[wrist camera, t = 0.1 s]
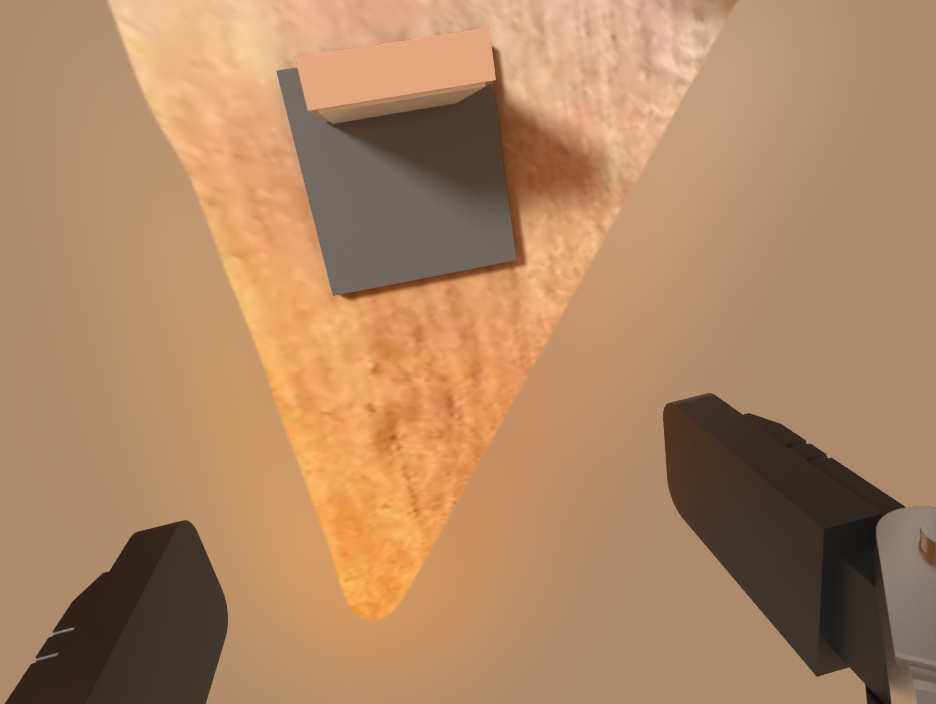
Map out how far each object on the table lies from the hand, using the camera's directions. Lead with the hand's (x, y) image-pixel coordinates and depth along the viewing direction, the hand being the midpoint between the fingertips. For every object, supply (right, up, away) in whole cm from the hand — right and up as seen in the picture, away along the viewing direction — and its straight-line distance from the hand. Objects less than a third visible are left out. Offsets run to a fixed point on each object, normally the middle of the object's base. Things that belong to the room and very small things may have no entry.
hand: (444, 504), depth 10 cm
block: (-4, +17, +23) cm, 29 cm away
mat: (-4, +14, +26) cm, 29 cm away
